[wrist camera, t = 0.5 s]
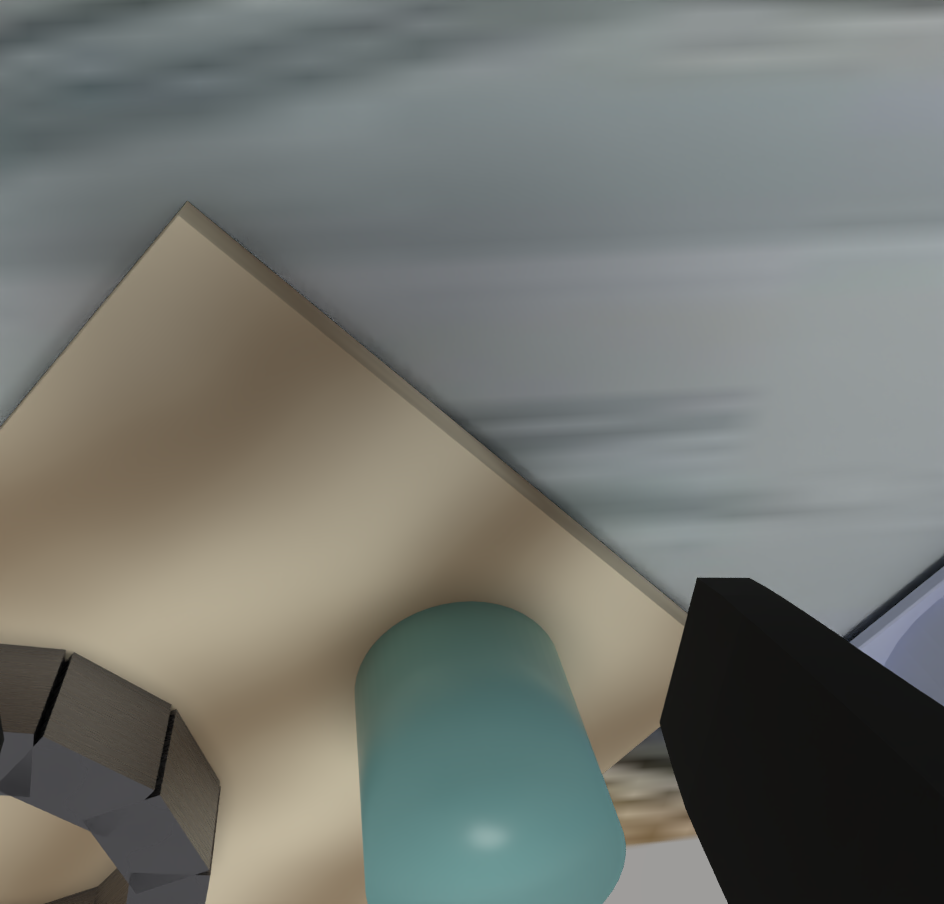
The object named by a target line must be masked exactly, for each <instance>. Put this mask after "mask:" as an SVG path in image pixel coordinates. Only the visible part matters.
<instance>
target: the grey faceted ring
mask: <svg viewBox="0 0 944 904" xmlns="http://www.w3.org/2000/svg"><path fill="white" fill-rule="evenodd" d="M65 655H66V650H64V649H53V648H42V647H32V646H21V645H10V644H0V716H1V722H2V728H3V734H4V742H3V746H2V749H1V753H0V795H4V796H12V797H14V798H16V799H19V800H21V801H23V802H25V803H27V804H30V805H32V806H34V807H36V808H39V809H41V810H43V811H45V812H48V813H50V814H52V815H54V816H57V817H59V818H61V819H63V820H66V821H68V822H70V823H72V824H74V825H77V826H79V827H81V828H83V829H86V830H88V831H90V832H91V833H92V835H93V836H94V837H95V839H96V840H97V841H98V843H99V844H100V846H101V847H102V848H103V850H104V851H105V852H106V854H107V855H108V856H109V858H110V859H111V860H112V862H113V863H114V865H115V866H116V867H117V868H116V869H115V870H114V871H113V872H112V873H111V874H110V875H109V876H108V877H107V878H106V879H105V880H104V881H103V882H102V883H101V884H100V885H99V886H97V887H94V888H91V889H87V890H84V891H81V892H78V893H75V894H72V895H69V896H66V897H63V898H60V899H57V900H54V901H51V902H48V903H45V904H205V902H206V897H207V891H208V886H209V881H210V875H211V867H212V858H213V850H214V842H215V833H216V825H217V816H218V808H219V799H220V791H221V786H220V780H219V779H218V777H217V775H216V774H215V772H214V770H213V769H212V767H211V765H210V764H209V762H208V760H207V759H206V757H205V755H204V754H203V752H202V750H201V749H200V747H199V745H198V744H197V742H196V740H195V739H194V737H193V736H192V734H191V732H190V731H189V729H188V727H187V726H186V724H185V722H184V721H183V719H182V717H181V716H180V714H179V712H178V711H177V709H175V710H172V711H170V710H171V705H172V704H170V703H168V702H166V701H164V700H162V699H160V698H159V697H157V696H155V695H153V694H151V693H149V692H147V691H146V690H144V689H142V688H140V687H138V686H136V685H134V684H133V683H131V682H129V681H127V680H125V679H123V678H121V677H119V676H118V675H116V674H114V673H112V672H110V671H108V670H106V669H105V668H103V667H101V666H99V665H97V664H95V663H93V662H92V661H90V660H88V659H86V658H84V657H82V656H80V655H79V654H77V653H75V652H74V653H73V654H72V655H71V656H70V657H69V658H68V659H67V660H66V661H65Z"/></svg>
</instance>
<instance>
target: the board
mask: <svg viewBox="0 0 944 904" xmlns="http://www.w3.org/2000/svg"><path fill="white" fill-rule="evenodd" d="M468 601H474V602H487V603H493V604H498V605H502V606H505V607H508V608H512V609H514V610H516V611H518V612H520V613H523V614H524V615H526V616H527V617H529V618H531V619H532V620H533V621H535V622H536V623H537V624H538V625H539V626H541V627H542V629H543V630H544V631H545V632H546V633H547V634H548V636H549V637H550V639H551V640H552V642H553V644H554V646H555V648H556V651H557V653H558V656H559V659H560V662H561V664H562V667H563V670H564V672H565V675H566V678H567V681H568V683H569V686H570V689H571V691H572V694H573V697H574V700H575V702H576V705H577V708H578V710H579V713H580V716H581V719H582V721H583V724H584V727H585V730H586V732H587V735H588V738H589V740H590V743H591V746H592V749H593V751H594V754H595V757H596V759H597V762H598V765H599V768H600V770H601V773H602V774H603V773H604V772H606V771H607V770H608V769H609V768H610V767H612V766H613V765H614V764H615V763H616V762H618V761H619V760H620V759H621V758H622V757H624V756H625V755H626V754H627V753H629V752H630V751H631V750H632V749H633V748H635V747H636V746H637V745H638V744H639V743H641V742H642V741H643V740H644V739H645V738H647V737H648V736H649V735H650V734H651V733H653V732H654V731H655V730H656V729H657V728H659V727H660V723H659V722H660V718H661V714H662V710H663V707H664V703H665V699H666V695H667V691H668V687H669V684H670V680H671V676H672V672H673V668H674V665H675V661H676V657H677V653H678V649H679V645H680V642H681V638H682V634H683V630H684V626H685V622H686V619H687V615H688V614H687V613H686V612H685V611H684V610H683V609H681V608H680V607H679V606H678V605H677V604H675V603H674V602H673V601H672V600H670V599H669V598H668V597H667V596H666V595H664V594H663V593H662V592H661V591H660V590H658V589H657V588H656V587H655V586H654V585H652V584H651V583H650V582H649V581H647V580H646V579H645V578H644V577H643V576H641V575H640V574H639V573H638V572H637V571H635V570H634V569H633V568H632V567H630V566H629V565H628V564H627V563H626V562H624V561H623V560H622V559H621V558H620V557H618V556H617V555H616V554H615V553H614V552H612V551H611V550H610V549H609V548H607V547H606V546H605V545H604V544H603V543H601V542H600V541H599V540H598V539H597V538H595V537H594V536H593V535H592V534H590V533H589V532H588V531H587V530H586V529H584V528H583V527H582V526H581V525H580V524H578V523H577V522H576V521H575V520H573V519H572V518H571V517H570V516H569V515H567V514H566V513H565V512H564V511H563V510H561V509H560V508H559V507H558V506H557V505H555V504H554V503H553V502H552V501H550V500H549V499H548V498H547V497H546V496H544V495H543V494H542V493H541V492H540V491H538V490H537V489H536V488H535V487H533V486H532V485H531V484H530V483H529V482H527V481H526V480H525V479H524V478H523V477H521V476H520V475H519V474H518V473H516V472H515V471H514V470H513V469H512V468H510V467H509V466H508V465H507V464H506V463H504V462H503V461H502V460H501V459H500V458H498V457H497V456H496V455H495V454H493V453H492V452H491V451H490V450H489V449H487V448H486V447H485V446H484V445H483V444H481V443H480V442H479V441H478V440H476V439H475V438H474V437H473V436H472V435H470V434H469V433H468V432H467V431H466V430H464V429H463V428H462V427H461V426H459V425H458V424H457V423H456V422H455V421H453V420H452V419H451V418H450V417H449V416H447V415H446V414H445V413H444V412H443V411H441V410H440V409H439V408H438V407H436V406H435V405H434V404H433V403H432V402H430V401H429V400H428V399H427V398H426V397H424V396H423V395H422V394H421V393H419V392H418V391H417V390H416V389H415V388H413V387H412V386H411V385H410V384H409V383H407V382H406V381H405V380H404V379H402V378H401V377H400V376H399V375H398V374H396V373H395V372H394V371H393V370H392V369H390V368H389V367H388V366H387V365H386V364H384V363H383V362H382V361H381V360H379V359H378V358H377V357H376V356H375V355H373V354H372V353H371V352H370V351H369V350H367V349H366V348H365V347H364V346H362V345H361V344H360V343H359V342H358V341H356V340H355V339H354V338H353V337H352V336H350V335H349V334H348V333H347V332H345V331H344V330H343V329H342V328H341V327H339V326H338V325H337V324H336V323H335V322H333V321H332V320H331V319H330V318H329V317H327V316H326V315H325V314H324V313H322V312H321V311H320V310H319V309H318V308H316V307H315V306H314V305H313V304H312V303H310V302H309V301H308V300H307V299H305V298H304V297H303V296H302V295H301V294H299V293H298V292H297V291H296V290H295V289H293V288H292V287H291V286H290V285H288V284H287V283H286V282H285V281H284V280H282V279H281V278H280V277H279V276H278V275H276V274H275V273H274V272H273V271H272V270H270V269H269V268H268V267H267V266H265V265H264V264H263V263H262V262H261V261H259V260H258V259H257V258H256V257H255V256H253V255H252V254H251V253H250V252H248V251H247V250H246V249H245V248H244V247H242V246H241V245H240V244H239V243H238V242H236V241H235V240H234V239H233V238H232V237H230V236H229V235H228V234H227V233H225V232H224V231H223V230H222V229H221V228H219V227H218V226H217V225H216V224H215V223H213V222H212V221H211V220H210V219H208V218H207V217H206V216H205V215H204V214H202V213H201V212H200V211H199V210H198V209H196V208H195V207H194V206H193V205H191V204H190V203H189V202H188V201H187V202H186V203H185V204H184V205H183V207H182V208H181V209H180V210H179V212H178V213H177V214H176V215H175V216H174V218H173V219H172V220H171V221H170V222H169V224H168V225H167V226H166V227H165V228H164V230H163V231H162V232H161V233H160V234H159V236H158V237H157V238H156V239H155V241H154V242H153V243H152V244H151V245H150V247H149V248H148V249H147V250H146V251H145V253H144V254H143V255H142V256H141V257H140V259H139V260H138V261H137V262H136V264H135V265H134V266H133V267H132V268H131V270H130V271H129V272H128V273H127V274H126V276H125V277H124V278H123V279H122V280H121V282H120V283H119V284H118V285H117V286H116V288H115V289H114V290H113V291H112V293H111V294H110V295H109V296H108V297H107V299H106V300H105V301H104V302H103V303H102V305H101V306H100V307H99V308H98V309H97V311H96V312H95V313H94V314H93V315H92V317H91V318H90V319H89V320H88V322H87V323H86V324H85V325H84V326H83V328H82V329H81V330H80V331H79V332H78V334H77V335H76V336H75V337H74V338H73V340H72V341H71V342H70V343H69V345H68V346H67V347H66V348H65V349H64V351H63V352H62V353H61V354H60V355H59V357H58V358H57V359H56V360H55V361H54V363H53V364H52V365H51V366H50V367H49V369H48V370H47V371H46V372H45V374H44V375H43V376H42V377H41V378H40V380H39V381H38V382H37V383H36V384H35V386H34V387H33V388H32V389H31V390H30V392H29V393H28V394H27V395H26V396H25V398H24V399H23V400H22V401H21V403H20V404H19V405H18V406H17V407H16V409H15V410H14V411H13V412H12V413H11V415H10V416H9V417H8V418H7V419H6V421H5V422H4V423H3V424H2V426H1V427H0V644H10V645H21V646H32V647H42V648H53V649H64V650H66V655H65V661H66V660H67V659H68V658H69V657H70V656H71V655H72V654H73V653H74V652H75V653H77V654H79V655H80V656H82V657H84V658H86V659H88V660H90V661H92V662H93V663H95V664H97V665H99V666H101V667H103V668H105V669H106V670H108V671H110V672H112V673H114V674H116V675H118V676H119V677H121V678H123V679H125V680H127V681H129V682H131V683H133V684H134V685H136V686H138V687H140V688H142V689H144V690H146V691H147V692H149V693H151V694H153V695H155V696H157V697H159V698H160V699H162V700H164V701H166V702H168V703H170V704H172V705H171V710H170V711H172V710H175V709H177V711H178V712H179V714H180V716H181V717H182V719H183V721H184V722H185V724H186V726H187V727H188V729H189V731H190V732H191V734H192V736H193V737H194V739H195V740H196V742H197V744H198V745H199V747H200V749H201V750H202V752H203V754H204V755H205V757H206V759H207V760H208V762H209V764H210V765H211V767H212V769H213V770H214V772H215V774H216V775H217V777H218V779H219V780H220V786H221V791H220V799H219V808H218V816H217V825H216V833H215V842H214V850H213V858H212V867H211V875H210V881H209V886H208V891H207V897H206V902H205V904H368V903H367V898H366V892H365V874H364V856H363V838H362V820H361V802H360V785H359V767H358V749H357V731H356V713H355V682H356V677H357V674H358V671H359V668H360V665H361V663H362V661H363V659H364V657H365V655H366V654H367V653H368V651H369V650H370V648H371V647H372V646H373V644H374V643H375V642H376V641H377V640H378V639H379V638H380V637H381V636H382V635H383V634H384V633H385V632H387V631H388V630H389V629H390V628H391V627H393V626H394V625H396V624H397V623H399V622H400V621H402V620H403V619H405V618H407V617H409V616H411V615H413V614H415V613H417V612H420V611H423V610H425V609H428V608H431V607H435V606H439V605H442V604H448V603H454V602H468ZM116 868H117V867H116V866H115V865H114V863H113V862H112V860H111V859H110V858H109V856H108V855H107V854H106V852H105V851H104V850H103V848H102V847H101V846H100V844H99V843H98V841H97V840H96V839H95V837H94V836H93V835H92V833H91V832H90V831H88V830H86V829H83V828H81V827H79V826H77V825H74V824H72V823H70V822H68V821H66V820H63V819H61V818H59V817H57V816H54V815H52V814H50V813H48V812H45V811H43V810H41V809H39V808H36V807H34V806H32V805H30V804H27V803H25V802H23V801H21V800H19V799H16V798H14V797H12V796H4V795H0V904H45V903H48V902H51V901H54V900H57V899H60V898H63V897H66V896H69V895H72V894H75V893H78V892H81V891H84V890H87V889H91V888H94V887H97V886H99V885H100V884H101V883H102V882H103V881H104V880H105V879H106V878H107V877H108V876H109V875H110V874H111V873H112V872H113V871H114V870H115V869H116Z"/></svg>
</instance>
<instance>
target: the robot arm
mask: <svg viewBox="0 0 944 904" xmlns="http://www.w3.org/2000/svg"><path fill="white" fill-rule="evenodd" d="M659 723H660V726H661V729H662V733H663V736H664V740H665V743H666V747H667V750H668V754H669V757H670V761H671V764H672V768H673V771H674V774H675V777H676V780H677V783H678V786H679V789H680V793H681V796H682V799H683V802H684V805H685V808H686V810H687V813H688V815H689V817H690V820H691V822H692V824H693V827H694V829H695V831H696V834H697V836H698V838H699V840H700V842H701V845H702V847H703V849H704V851H705V854H706V856H707V858H708V860H709V862H710V865H711V867H712V869H713V871H714V874H715V876H716V878H717V880H718V883H719V885H720V887H721V889H722V891H723V893H724V896H725V898H726V900H727V902H728V904H944V566H943V567H942V568H941V569H940V570H939V571H937V572H936V573H935V574H934V575H932V576H931V577H930V578H929V579H927V580H926V581H925V582H924V583H922V584H921V585H920V586H919V587H917V588H916V589H915V590H914V591H912V592H911V593H910V594H909V595H907V596H906V597H905V598H904V599H903V600H901V601H900V602H899V603H898V604H896V605H895V606H894V607H893V608H891V609H890V610H889V611H888V612H886V613H885V614H884V615H883V616H881V617H880V618H879V619H878V620H876V621H875V622H874V623H873V624H871V625H870V626H869V627H868V628H867V629H865V630H864V631H863V632H862V633H860V634H859V635H858V636H857V637H855V638H854V639H853V640H852V641H850V642H848V641H846V640H845V639H844V638H842V637H841V636H839V635H838V634H836V633H835V632H833V631H832V630H830V629H829V628H827V627H826V626H825V625H823V624H822V623H820V622H819V621H817V620H816V619H814V618H813V617H811V616H810V615H808V614H807V613H805V612H804V611H802V610H801V609H799V608H798V607H796V606H795V605H793V604H792V603H790V602H789V601H787V600H786V599H784V598H782V597H781V596H779V595H778V594H776V593H774V592H773V591H771V590H770V589H768V588H766V587H765V586H763V585H761V584H759V583H758V582H756V581H754V580H752V579H750V578H697V580H696V584H695V588H694V592H693V596H692V599H691V603H690V607H689V611H688V615H687V619H686V622H685V626H684V630H683V634H682V638H681V642H680V645H679V649H678V653H677V657H676V661H675V665H674V668H673V672H672V676H671V680H670V684H669V687H668V691H667V695H666V699H665V703H664V707H663V710H662V714H661V718H660V722H659ZM3 742H4V734H3V728H2V722H1V716H0V753H1V749H2V746H3Z"/></svg>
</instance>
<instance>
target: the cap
mask: <svg viewBox="0 0 944 904" xmlns="http://www.w3.org/2000/svg"><path fill="white" fill-rule="evenodd" d="M355 713H356V731H357V749H358V767H359V785H360V802H361V820H362V838H363V856H364V874H365V892H366V898H367V903H368V904H602V903H603V902H604V901H605V900H606V899H607V897H608V896H609V895H610V893H611V892H612V890H613V889H614V887H615V885H616V883H617V882H618V880H619V878H620V875H621V872H622V869H623V866H624V861H625V855H626V843H625V838H624V833H623V830H622V827H621V825H620V822H619V819H618V817H617V814H616V811H615V808H614V806H613V803H612V800H611V798H610V795H609V792H608V789H607V787H606V784H605V781H604V778H603V776H602V773H601V770H600V768H599V765H598V762H597V759H596V757H595V754H594V751H593V749H592V746H591V743H590V740H589V738H588V735H587V732H586V730H585V727H584V724H583V721H582V719H581V716H580V713H579V710H578V708H577V705H576V702H575V700H574V697H573V694H572V691H571V689H570V686H569V683H568V681H567V678H566V675H565V672H564V670H563V667H562V664H561V662H560V659H559V656H558V653H557V651H556V648H555V646H554V644H553V642H552V640H551V639H550V637H549V636H548V634H547V633H546V632H545V631H544V630H543V629H542V627H541V626H539V625H538V624H537V623H536V622H535V621H533V620H532V619H531V618H529V617H527V616H526V615H524V614H523V613H520V612H518V611H516V610H514V609H512V608H508V607H505V606H502V605H498V604H493V603H487V602H474V601H468V602H454V603H448V604H442V605H439V606H435V607H431V608H428V609H425V610H423V611H420V612H417V613H415V614H413V615H411V616H409V617H407V618H405V619H403V620H402V621H400V622H399V623H397V624H396V625H394V626H393V627H391V628H390V629H389V630H388V631H387V632H385V633H384V634H383V635H382V636H381V637H380V638H379V639H378V640H377V641H376V642H375V643H374V644H373V646H372V647H371V648H370V650H369V651H368V653H367V654H366V655H365V657H364V659H363V661H362V663H361V665H360V668H359V671H358V674H357V677H356V682H355Z"/></svg>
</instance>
